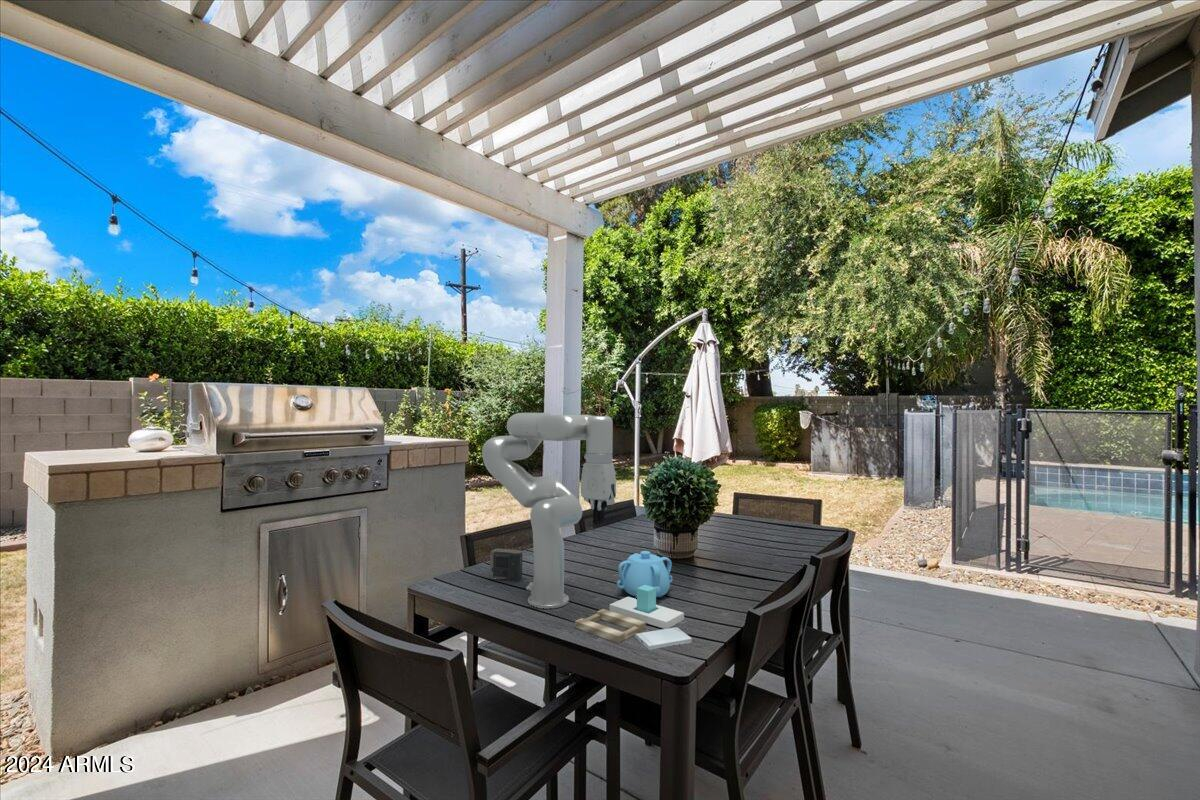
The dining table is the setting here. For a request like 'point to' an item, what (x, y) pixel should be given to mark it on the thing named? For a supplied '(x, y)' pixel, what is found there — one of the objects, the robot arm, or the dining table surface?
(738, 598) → the dining table surface
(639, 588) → the plug
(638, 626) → the tan hollow rectangular frame
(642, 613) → the port panel
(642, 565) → the decorative pot
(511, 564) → the camera
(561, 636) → the dining table surface
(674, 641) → the hard drive
